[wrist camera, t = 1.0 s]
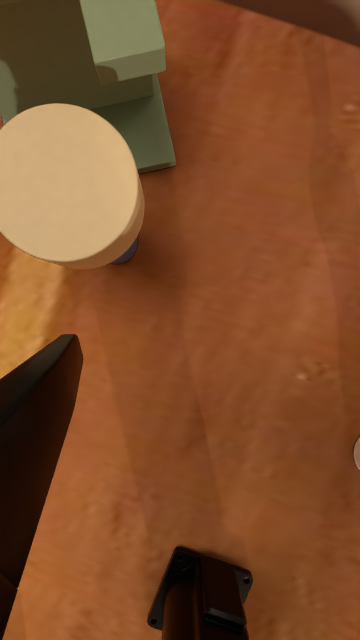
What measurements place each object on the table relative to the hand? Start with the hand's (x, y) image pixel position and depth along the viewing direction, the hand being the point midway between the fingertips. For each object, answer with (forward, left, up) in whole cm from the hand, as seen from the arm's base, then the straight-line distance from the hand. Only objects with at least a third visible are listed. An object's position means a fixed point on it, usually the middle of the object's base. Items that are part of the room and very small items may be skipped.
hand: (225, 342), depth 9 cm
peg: (+3, +7, -13) cm, 15 cm away
